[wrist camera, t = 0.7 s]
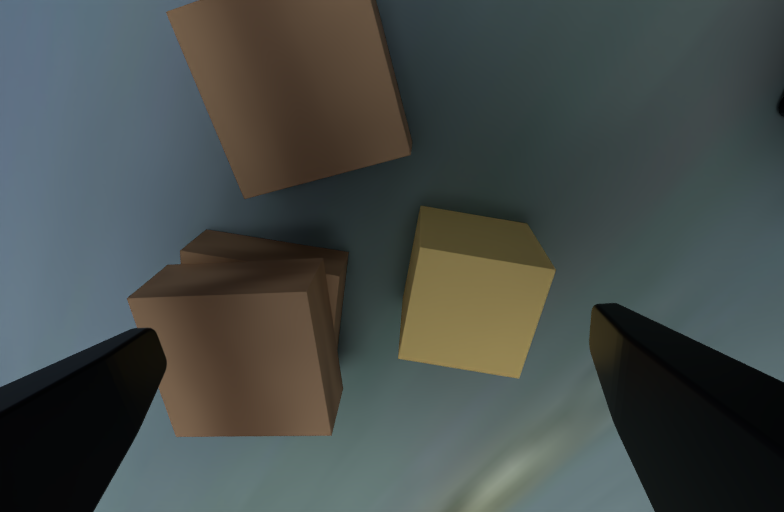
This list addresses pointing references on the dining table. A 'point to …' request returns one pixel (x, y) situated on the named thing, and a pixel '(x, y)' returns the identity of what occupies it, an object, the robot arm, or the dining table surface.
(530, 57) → the dining table surface
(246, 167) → the walnut slab
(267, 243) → the walnut slab lower
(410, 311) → the mustard cube
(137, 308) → the walnut slab upper
